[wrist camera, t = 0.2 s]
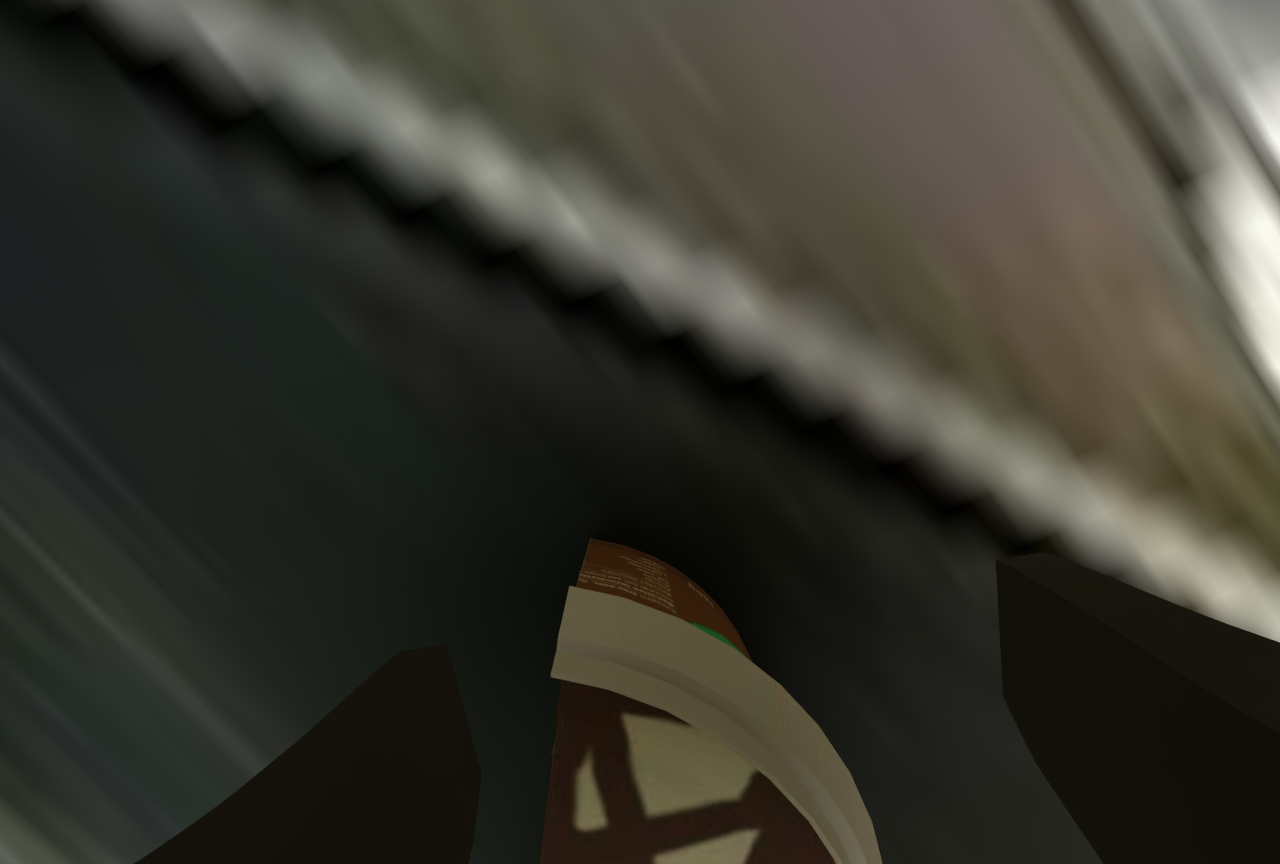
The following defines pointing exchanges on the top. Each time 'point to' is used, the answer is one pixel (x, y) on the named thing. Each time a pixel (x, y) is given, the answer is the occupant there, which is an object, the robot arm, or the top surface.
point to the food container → (683, 736)
